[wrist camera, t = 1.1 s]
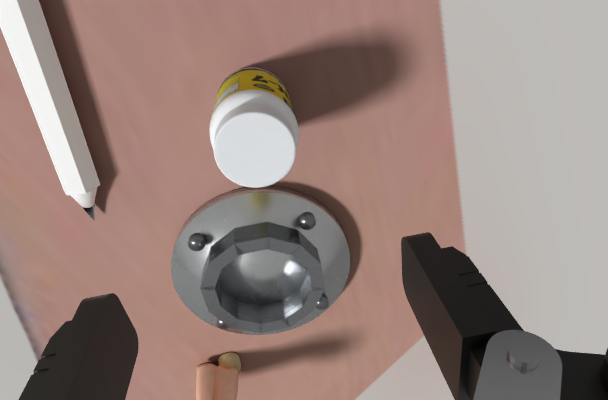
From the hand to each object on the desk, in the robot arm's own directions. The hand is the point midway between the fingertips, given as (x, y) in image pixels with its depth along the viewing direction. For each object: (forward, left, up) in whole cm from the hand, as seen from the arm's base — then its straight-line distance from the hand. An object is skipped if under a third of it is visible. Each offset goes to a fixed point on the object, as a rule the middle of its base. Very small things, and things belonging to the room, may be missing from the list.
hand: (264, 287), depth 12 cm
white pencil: (-2, -12, -19) cm, 22 cm away
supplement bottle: (0, 0, -18) cm, 18 cm away
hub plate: (+13, -2, -18) cm, 22 cm away
